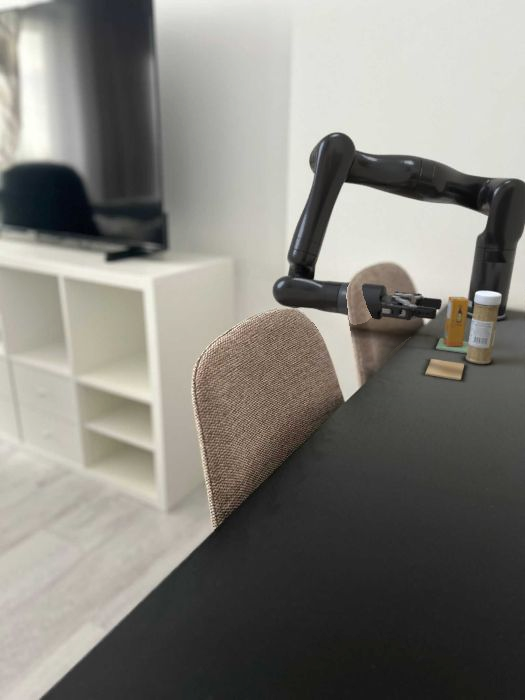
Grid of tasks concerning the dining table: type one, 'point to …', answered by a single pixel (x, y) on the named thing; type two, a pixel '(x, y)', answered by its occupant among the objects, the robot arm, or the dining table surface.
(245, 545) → the dining table surface
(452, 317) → the supplement box
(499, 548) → the dining table surface
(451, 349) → the green mat
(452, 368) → the oak mat
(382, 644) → the dining table surface
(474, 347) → the sprinkles bottle
